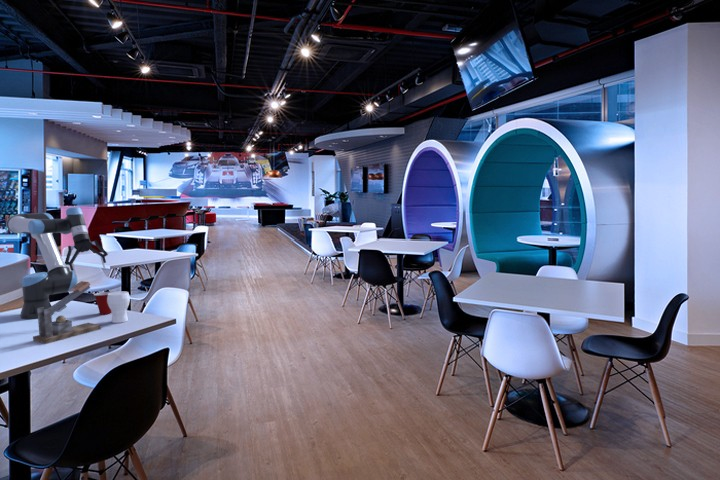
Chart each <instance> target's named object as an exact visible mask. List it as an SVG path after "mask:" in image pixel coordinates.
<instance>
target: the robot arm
mask: <svg viewBox="0 0 720 480" xmlns="http://www.w3.org/2000/svg"><path fill="white" fill-rule="evenodd" d="M65 215H66V217H64V218H54V217H53V215H51V213H48V212H37V213H32V212H31V213H18V214H17V213H16V214H13V215H11V216H10V217H8V218H7V220H6V222H5V226H6V229H7V230H8V231H9V232H11V233H15V234H29V235H31V238H33V239H35V241H36V243H37V246H38V248H39V250H40V253H41V256H42V258H43V261H44V264H45V266H46V268H47V272H46V271H42V272H41V271H39V272H35V273H30V274H27V275H25V276H23V277H22V280H21V288H22V299H23V301H22V302H23V303H22V307H21V311H20V318H21V319H25V320H32V319H38V310H37V308H41V307H44V309H48V308H50V307H51V306H52V303H51V302H50V298H49V297H50V296H51V295H57V294H64V293H69V292H73V291H72V290H71V288H72V287H73V286H75V285H76V284H78V274H77V271H76V266H75V264H74V262H75V261H76V259H77V257H78V256H79V255H80V253H84V252H89V251H91V252H93V253H94V254H96V255H98V256H99V257H100V260H101V264H102V267H103V270H106V266H105V264H106V263H107V261H106V257H107V256H108V255H109V253H108V252H107V250H105V249H104V248H103V247H102V246H101V245H100V244H99V243H98V241H97V240H96V239H95V240H94V241H91V239H90V236H89V231H88V228H87V225H86V221H85V217H84V213H83V210H82V208H81V207H78V206H72V207H68V208H66V209H65ZM59 233H60V234H62V235H69V234H71V236H72V240H73V242H74V245H68V246H67V249H68V251H67V253H66V257H65V260H64V261H63V258H62V255H61V253H60V251H59V248H58V245H57V243H56V240H55V239H54V235H53V234H59ZM93 246H95V247H97V248H98V249H99V250H100V251H98V250H97V249H95V248H94V247H93ZM74 249H75V251H74ZM72 251H74V254H73V255H72ZM71 255H72V257H71ZM53 314H55V312H54V313H53ZM53 314H51V316H52V315H53Z"/></svg>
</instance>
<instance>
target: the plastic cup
mask: <svg viewBox="0 0 720 480" xmlns="http://www.w3.org/2000/svg"><path fill="white" fill-rule="evenodd" d="M112 292H113V291H105V292H97V293H94V294H93V296H94V298H95V301H96V304H97V309H98V312H99V314H100V315H101V316H102V315H103V316H105V314H106V315H110V313H111V314H112V311H111V309H110V308H109V306H108V303H107V297H108V294H109V293H112Z"/></svg>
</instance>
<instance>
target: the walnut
mask: <svg viewBox="0 0 720 480" xmlns="http://www.w3.org/2000/svg"><path fill="white" fill-rule="evenodd" d="M66 320H67V318H66V317H65V316H64V315H58V316H57V317H56V318H55V321H56V322H57V323H63V322H65V321H66Z"/></svg>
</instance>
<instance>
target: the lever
mask: <svg viewBox="0 0 720 480" xmlns="http://www.w3.org/2000/svg"><path fill="white" fill-rule="evenodd" d="M90 286H91V283H90V282H89V281H83V280H81V281H79V282H77V284H76V285H75V286H73V287H72V288H71V290H72V291H71V292H70V293H69V294H68V295H66V296H65V297H63V298H62V299H60V300H59V301H57V302H55V303H54V304H53V305H51V307H50V309H51V314H52V315H53V313H54V314H55V313H56V312H57V313H60V312H62V311H63V310H65V309H66V308H67V304H69V303H70V302H72V301H73V300H75V299H76V298H78V297H79V296H81V295H83V293H85V292H87V291H88V290H90V289H91V287H90ZM48 309H49V308H48ZM42 314H43V316H44V312H42Z"/></svg>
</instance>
